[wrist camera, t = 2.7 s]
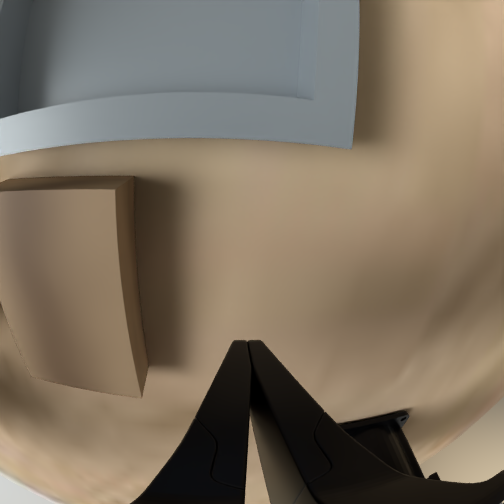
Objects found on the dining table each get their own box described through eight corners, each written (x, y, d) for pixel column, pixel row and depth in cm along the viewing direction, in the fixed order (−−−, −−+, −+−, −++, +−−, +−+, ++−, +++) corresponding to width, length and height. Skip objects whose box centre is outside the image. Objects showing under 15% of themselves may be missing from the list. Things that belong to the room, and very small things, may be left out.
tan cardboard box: (137, 174, 10) (115, 189, 8) (149, 360, 14) (141, 398, 12) (12, 177, 9) (-23, 193, 7) (48, 345, 13) (31, 376, 11)
